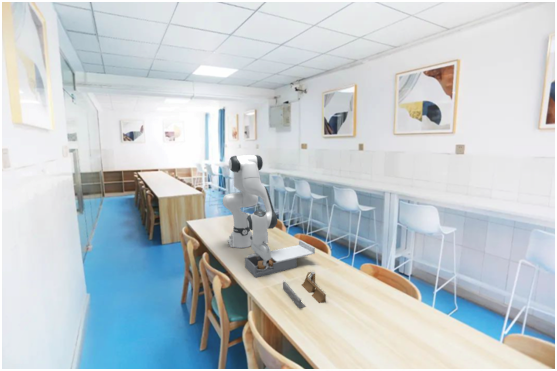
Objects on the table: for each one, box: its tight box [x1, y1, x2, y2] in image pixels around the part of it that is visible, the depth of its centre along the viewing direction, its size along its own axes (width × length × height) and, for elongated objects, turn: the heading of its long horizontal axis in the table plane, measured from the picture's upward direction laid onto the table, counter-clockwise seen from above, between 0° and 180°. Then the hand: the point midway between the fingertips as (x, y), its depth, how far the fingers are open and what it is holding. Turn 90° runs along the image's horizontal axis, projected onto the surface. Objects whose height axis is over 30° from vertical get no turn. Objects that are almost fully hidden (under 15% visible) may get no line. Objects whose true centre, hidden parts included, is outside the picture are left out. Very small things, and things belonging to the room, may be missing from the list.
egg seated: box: [269, 259, 276, 267], centre depth 168 cm, size 4×4×4 cm
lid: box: [270, 239, 316, 263], centre depth 173 cm, size 16×26×4 cm, turn 118°
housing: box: [244, 256, 298, 279], centre depth 168 cm, size 16×26×6 cm, turn 118°
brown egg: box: [258, 261, 265, 270], centre depth 165 cm, size 4×4×4 cm
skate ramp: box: [282, 271, 327, 309], centre depth 140 cm, size 29×35×8 cm
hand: (260, 262), depth 165 cm, fingers open, 8 cm apart
